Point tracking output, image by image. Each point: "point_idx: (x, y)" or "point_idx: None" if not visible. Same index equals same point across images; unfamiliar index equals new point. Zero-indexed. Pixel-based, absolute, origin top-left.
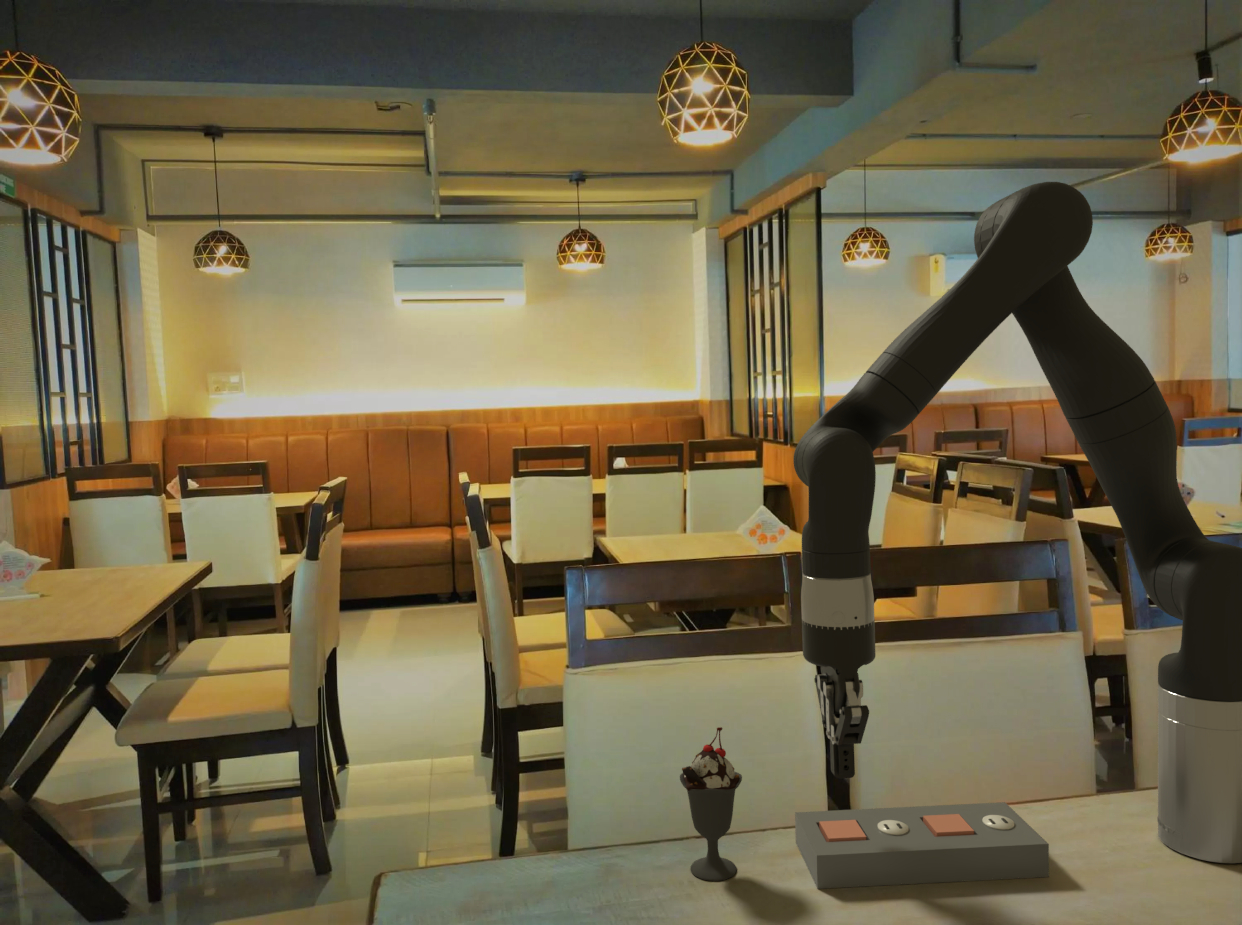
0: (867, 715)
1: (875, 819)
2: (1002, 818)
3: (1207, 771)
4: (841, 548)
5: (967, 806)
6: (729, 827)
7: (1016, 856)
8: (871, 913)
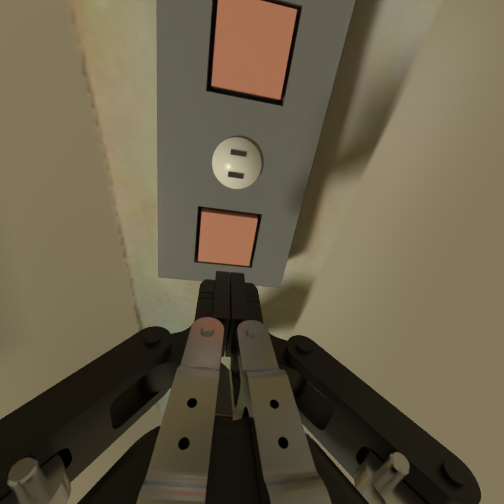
0: (463, 466)
1: (200, 177)
2: None
3: None
4: None
5: None
6: (222, 366)
7: None
8: (333, 234)
